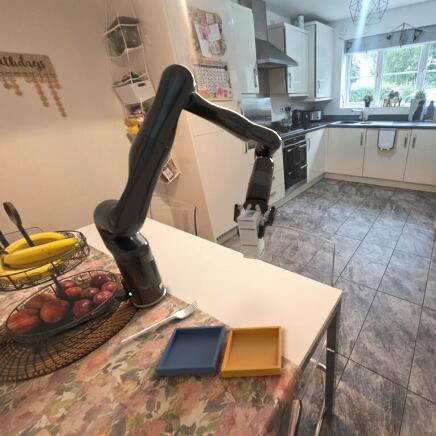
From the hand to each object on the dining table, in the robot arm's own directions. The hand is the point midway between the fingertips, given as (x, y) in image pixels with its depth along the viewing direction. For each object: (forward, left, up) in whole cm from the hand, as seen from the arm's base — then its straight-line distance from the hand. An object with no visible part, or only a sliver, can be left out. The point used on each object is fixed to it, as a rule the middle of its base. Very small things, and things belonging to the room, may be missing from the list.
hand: (249, 237), depth 75 cm
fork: (-25, -15, -18) cm, 34 cm away
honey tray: (+2, -25, -18) cm, 31 cm away
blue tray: (-13, -24, -18) cm, 33 cm away
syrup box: (0, +2, -7) cm, 8 cm away
